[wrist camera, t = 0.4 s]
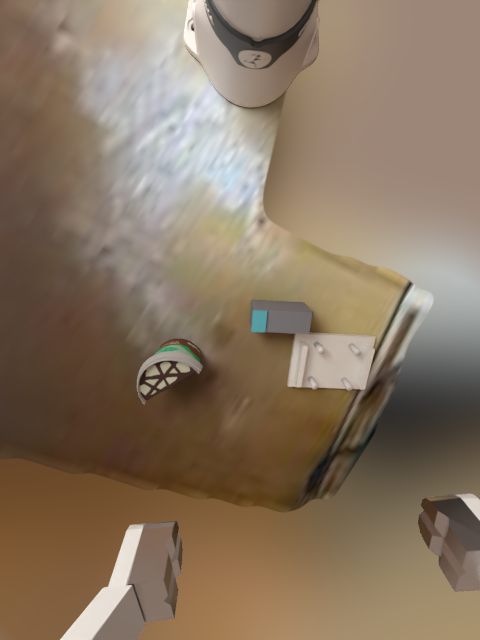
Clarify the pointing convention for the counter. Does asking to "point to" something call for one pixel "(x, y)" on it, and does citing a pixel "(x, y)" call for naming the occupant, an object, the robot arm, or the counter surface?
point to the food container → (168, 367)
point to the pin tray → (331, 360)
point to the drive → (280, 317)
